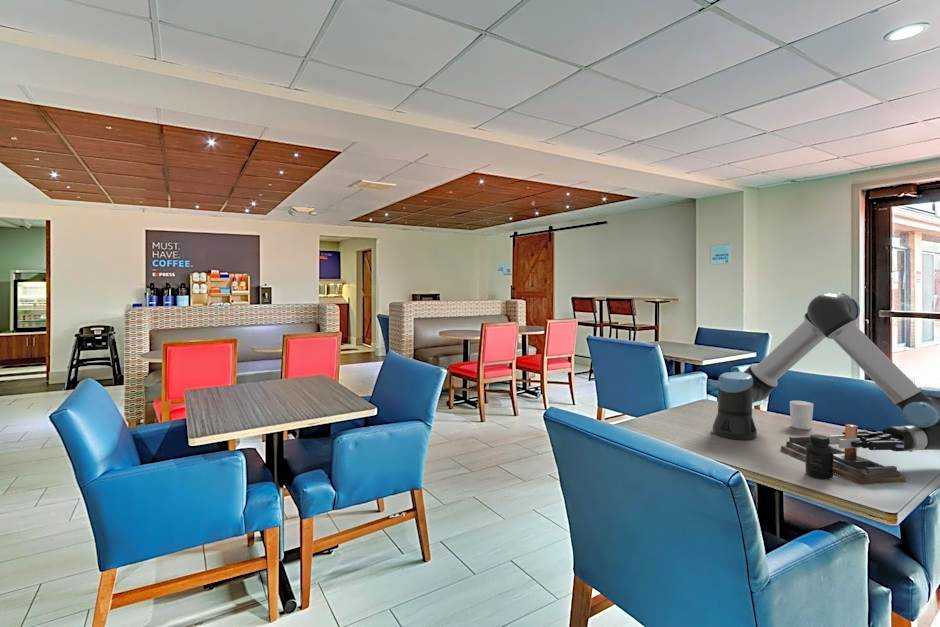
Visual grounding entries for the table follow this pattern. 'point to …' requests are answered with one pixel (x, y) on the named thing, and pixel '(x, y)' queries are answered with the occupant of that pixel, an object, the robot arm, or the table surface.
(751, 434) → the robot arm
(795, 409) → the white cup
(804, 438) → the slide board
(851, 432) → the carriage
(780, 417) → the table surface
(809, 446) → the supplement bottle
